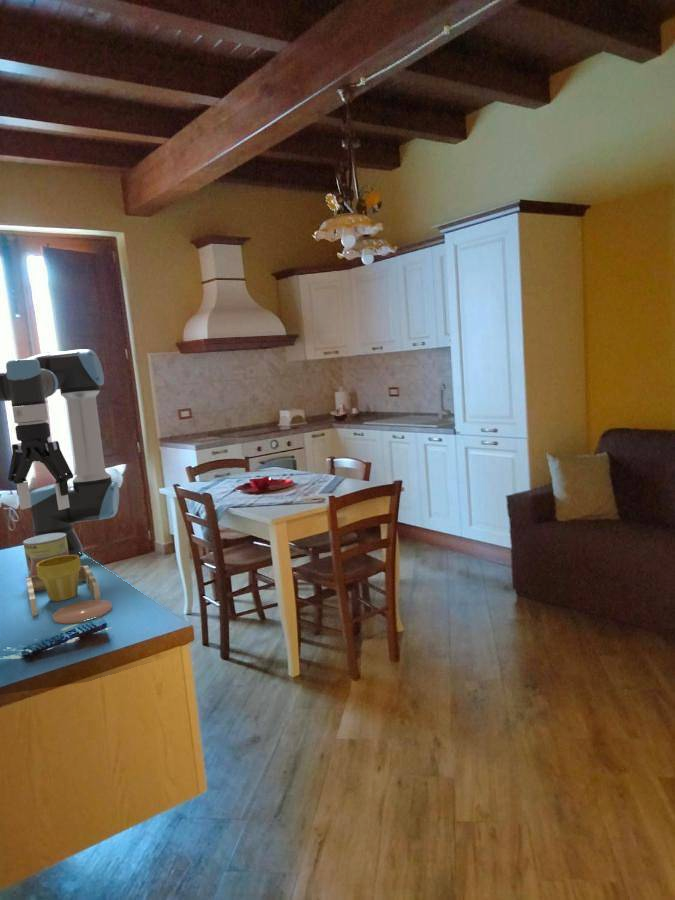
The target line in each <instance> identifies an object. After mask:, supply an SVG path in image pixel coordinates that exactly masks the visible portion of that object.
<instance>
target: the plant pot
mask: <svg viewBox="0 0 675 900" xmlns="http://www.w3.org/2000/svg"><path fill="white" fill-rule="evenodd" d="M81 566H82V564H81V559H80V555H79V556H78V555H63V556H57V557H53V558H49V559H46V560H43V561H41V562H39V563H37V565H36V569H37V574H38V577H39V578H40V579H41V580H42V582H43V584H44V586H45V589H44V590H46V594H47V596H48V598H49V600H50V601H52V602H62V601H67V600H70V599H73V598H75V597H77V595H78V591H79V589H78V588H79V582H78V577H79V570H80V569H81Z"/></svg>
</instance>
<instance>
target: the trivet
mask: <svg viewBox="0 0 675 900" xmlns="http://www.w3.org/2000/svg"><path fill="white" fill-rule="evenodd" d="M112 609H113V604H112V602H111V601H110V600H107V599H101V600H95V599H91V600H84V601H79V602H75V603H72V604H69V605H66V606H64V607H61V608H59V609H58V610H56V611H55V612H54V613H53V614H52V618H53V619H52V620H53V621H54V623H57V624H60V625H61V624H62V625H73V624H79V622H80V623H83V622H82V621H84V620H87V619H91V618H94V617H98V618H100V617H102V616H104V615H106V614H108V613H110V612H111V610H112Z"/></svg>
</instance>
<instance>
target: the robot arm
mask: <svg viewBox="0 0 675 900" xmlns="http://www.w3.org/2000/svg"><path fill="white" fill-rule="evenodd" d="M104 384H105V374H104V371H103V367H102V363H101V361H100V359H99V356H98V355H97V353H96V352H95V351H94V350H92V349H88V348H87V349H86V348H85V349H73V350H63V351H54V352H53V351H52V352H51V351H50V352H42V353H37V354H33V355H31V356H27V357H25V358H21V359H12V360H8V361H7V362H6V364H5V367H2V368H0V402H11V403H10V404H11V407H12V413H13V420H14V423H15V424H17V425H16V426H15V427H14V428H15V434H16V439H17V441H19V442H20V443H13V444H12V445H11V450H12V454H11V460H10V465H9V471H8V475H7V480H8V481H9V482H13V484H15V489H16V495H17V497H18V502H19V503H18V504H19V508H20V509H19V510H26V509H30V516H31V521H32V526H33V527H32V528H33V529H32V530H33V534H34V536H38V535H43V534H49V533H66V538H67V545H68V551H69V555H78V556H79V557H80V556H81V555H82V554H83V553H84V550H83V549H84V548H83V545H82V543H81V540H80V539H79V536H78V535H77V533H76V531H75V529H74V523H75V524H76V523H83V522H90V521H98V520H99V521H102V520H106V519H111V518H114V517H115V516H116V515H117V513H118V509H119V503H120V488H119V484H118V482H117V481H115V480H113V479H112V475H111V474H110V473H108V472H107V471H106V465H105V459H104V451H103V444H102V443H103V442H102V436H101V435H102V434H101V427H100V420H99V411H98V403H97V396H98V395H99V393H101V392H100V389H101V388H100V387H101V386H104ZM57 390H60V392H59V393H60V396H62V397H63V398H64V399H65V400H66V403H67V404H66V405H67V411H68V418H69V425H70V427H69V428H70V431H71V432H70V434H71V442H72V446H73V455H74V462H75V469H76V476H75V477H74V474H73V472H72V470H71V468H70V467H69V464H68V462H67V460H66V458H65V456H64V454H63V452H62V451H61V448H60V447H61V446H60V443H59V441H58V440H54V441H49V438H50V437H51V430H50V424H49V423H48V422H46V421H49V415H48V409H47V404H46V398H49V397H51V396H53V395H54V394H55V393H56V391H57ZM34 462H40V463H42V464H43V465H44V466H45V468H46V469H47V470H48V472H49V473H50V474H51V475H52V477H53V479H55V482H54V483H53V484H49V485H45V486H42V487H37V488H35V489H34V490H31V491H30V490H29V489H30V488H29V482H28V480H27V476H28V474H29V472H30V469H31V467H32V465H33V463H34ZM70 479H73V480H72V486H69V484H68V482H69V480H70ZM79 552H80V553H82V554H80V553H79Z"/></svg>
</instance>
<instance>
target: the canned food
mask: <svg viewBox="0 0 675 900" xmlns="http://www.w3.org/2000/svg"><path fill="white" fill-rule="evenodd" d="M22 544H23V549H24V555H25V562H26V567H27V573H28V577H31V576H35V575H38V574H37V569H36V565H37V563H39V562H41V561H43V560H46V559H49V558H53V557H57V556H63V555H69V551H68V545H67V538H66V533H49V534H43V535H38V536H35V535H34V536H32V537H29V538H26V539H24V540H23V541H22Z"/></svg>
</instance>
